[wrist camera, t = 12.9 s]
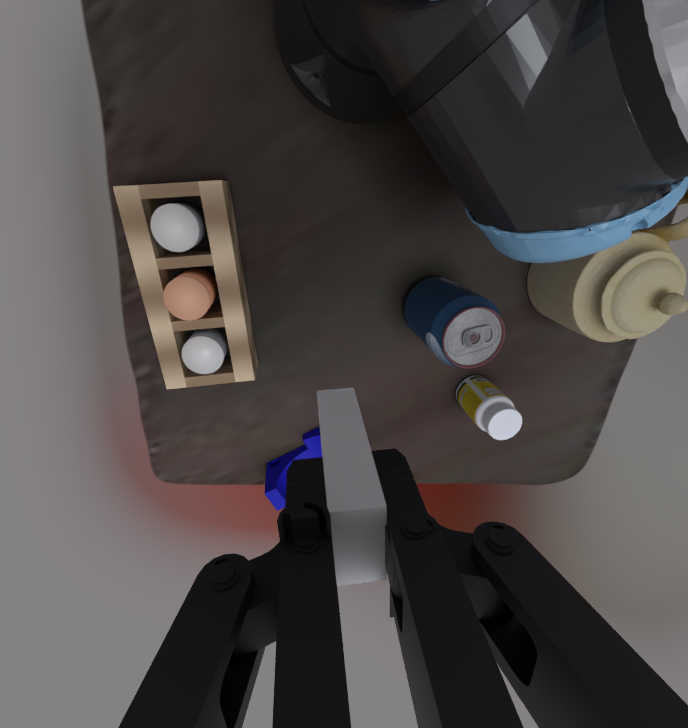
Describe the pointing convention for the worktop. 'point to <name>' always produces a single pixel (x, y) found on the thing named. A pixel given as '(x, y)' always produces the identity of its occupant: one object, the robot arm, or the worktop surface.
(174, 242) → the plunger
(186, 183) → the button block
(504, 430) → the supplement bottle
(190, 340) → the plunger
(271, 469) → the cable clip
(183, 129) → the worktop surface
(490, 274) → the worktop surface
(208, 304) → the plunger mid
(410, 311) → the soda can
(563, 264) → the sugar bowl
